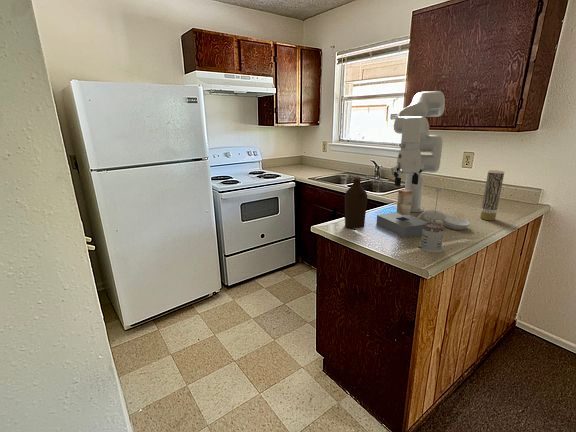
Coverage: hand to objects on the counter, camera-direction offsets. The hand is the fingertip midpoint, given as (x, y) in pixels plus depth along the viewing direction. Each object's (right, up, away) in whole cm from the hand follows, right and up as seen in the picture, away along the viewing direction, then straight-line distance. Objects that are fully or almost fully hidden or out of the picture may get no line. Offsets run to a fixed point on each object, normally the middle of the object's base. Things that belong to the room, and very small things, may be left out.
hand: (406, 185), depth 141 cm
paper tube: (+51, -16, +22) cm, 57 cm away
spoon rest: (+23, -19, +13) cm, 32 cm away
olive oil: (-21, -20, +13) cm, 31 cm away
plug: (0, -13, +4) cm, 14 cm away
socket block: (0, -21, +6) cm, 22 cm away
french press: (+5, -27, -12) cm, 30 cm away
